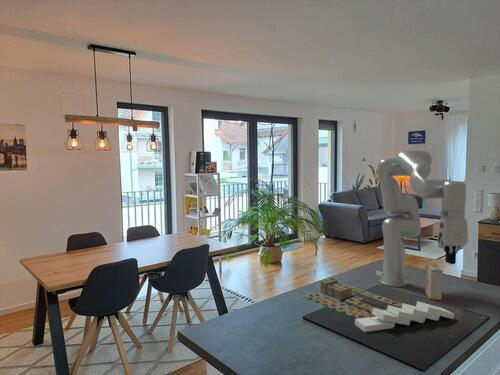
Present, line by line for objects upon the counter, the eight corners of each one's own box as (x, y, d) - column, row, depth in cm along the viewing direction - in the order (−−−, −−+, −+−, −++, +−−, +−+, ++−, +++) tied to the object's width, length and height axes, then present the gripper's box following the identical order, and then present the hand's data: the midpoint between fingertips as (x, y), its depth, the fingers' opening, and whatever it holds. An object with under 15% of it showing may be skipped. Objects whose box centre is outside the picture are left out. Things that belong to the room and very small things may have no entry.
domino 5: (453, 319, 136) (427, 312, 133) (440, 313, 142) (415, 306, 138) (454, 313, 136) (429, 306, 133) (442, 307, 142) (417, 301, 138)
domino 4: (438, 321, 134) (412, 314, 131) (425, 314, 140) (401, 308, 136) (439, 315, 134) (414, 308, 131) (427, 309, 140) (402, 302, 136)
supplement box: (442, 300, 155) (443, 269, 154) (429, 299, 156) (430, 269, 155) (436, 293, 163) (437, 264, 162) (424, 293, 164) (425, 264, 163)
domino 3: (423, 323, 132) (397, 317, 129) (411, 316, 138) (386, 310, 134) (425, 317, 132) (399, 311, 129) (413, 311, 138) (388, 304, 134)
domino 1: (394, 328, 129) (364, 332, 125) (383, 321, 134) (354, 324, 131) (394, 322, 129) (365, 326, 125) (383, 315, 134) (355, 318, 131)
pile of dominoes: (301, 297, 159) (301, 285, 159) (343, 286, 175) (343, 274, 174) (368, 326, 131) (368, 311, 130) (412, 309, 146) (412, 296, 146)
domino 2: (409, 325, 130) (382, 320, 126) (397, 318, 136) (371, 313, 132) (410, 319, 130) (384, 314, 126) (398, 313, 136) (373, 307, 132)
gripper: (444, 216, 131) (441, 267, 133) (477, 215, 135) (474, 264, 137) (428, 213, 138) (426, 261, 140) (461, 212, 142) (458, 258, 144)
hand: (450, 262), depth 138 cm, fingers closed
